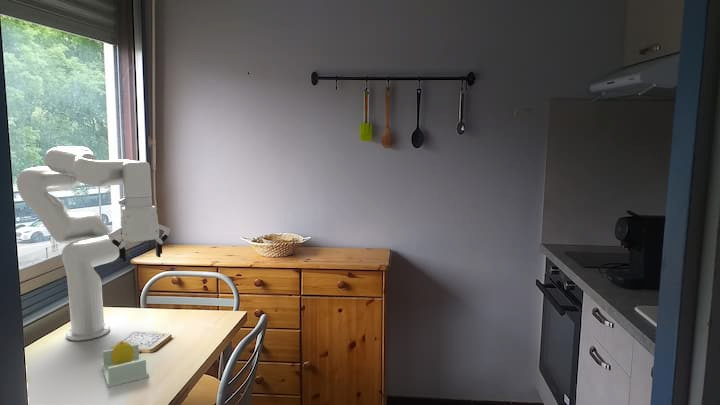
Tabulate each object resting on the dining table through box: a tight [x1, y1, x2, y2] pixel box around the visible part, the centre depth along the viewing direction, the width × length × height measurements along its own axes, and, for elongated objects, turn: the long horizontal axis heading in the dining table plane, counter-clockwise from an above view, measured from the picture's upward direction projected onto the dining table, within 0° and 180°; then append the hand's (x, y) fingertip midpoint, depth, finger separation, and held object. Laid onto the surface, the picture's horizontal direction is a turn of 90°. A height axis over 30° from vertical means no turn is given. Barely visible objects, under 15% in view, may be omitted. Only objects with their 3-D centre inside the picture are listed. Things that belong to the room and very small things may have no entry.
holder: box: [101, 343, 150, 388], centre depth 132 cm, size 13×10×5 cm
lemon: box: [112, 340, 134, 365], centre depth 132 cm, size 6×6×8 cm
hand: (141, 258), depth 144 cm, fingers open, 9 cm apart
